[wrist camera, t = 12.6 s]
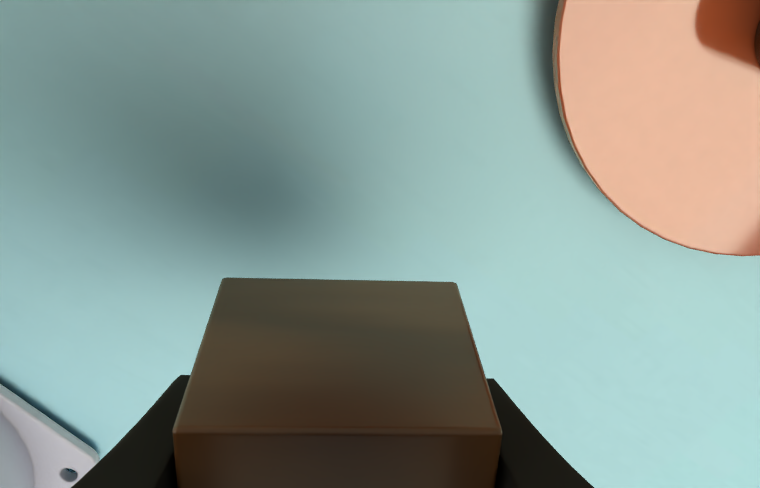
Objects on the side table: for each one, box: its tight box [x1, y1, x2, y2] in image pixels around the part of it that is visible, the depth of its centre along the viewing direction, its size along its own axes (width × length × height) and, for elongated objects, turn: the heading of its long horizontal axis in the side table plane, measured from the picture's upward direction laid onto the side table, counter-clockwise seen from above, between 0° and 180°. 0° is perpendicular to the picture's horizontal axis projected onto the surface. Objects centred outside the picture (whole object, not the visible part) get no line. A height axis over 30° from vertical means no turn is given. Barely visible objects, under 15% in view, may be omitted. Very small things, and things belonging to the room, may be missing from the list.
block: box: [172, 278, 503, 488], centre depth 12 cm, size 4×4×4 cm
